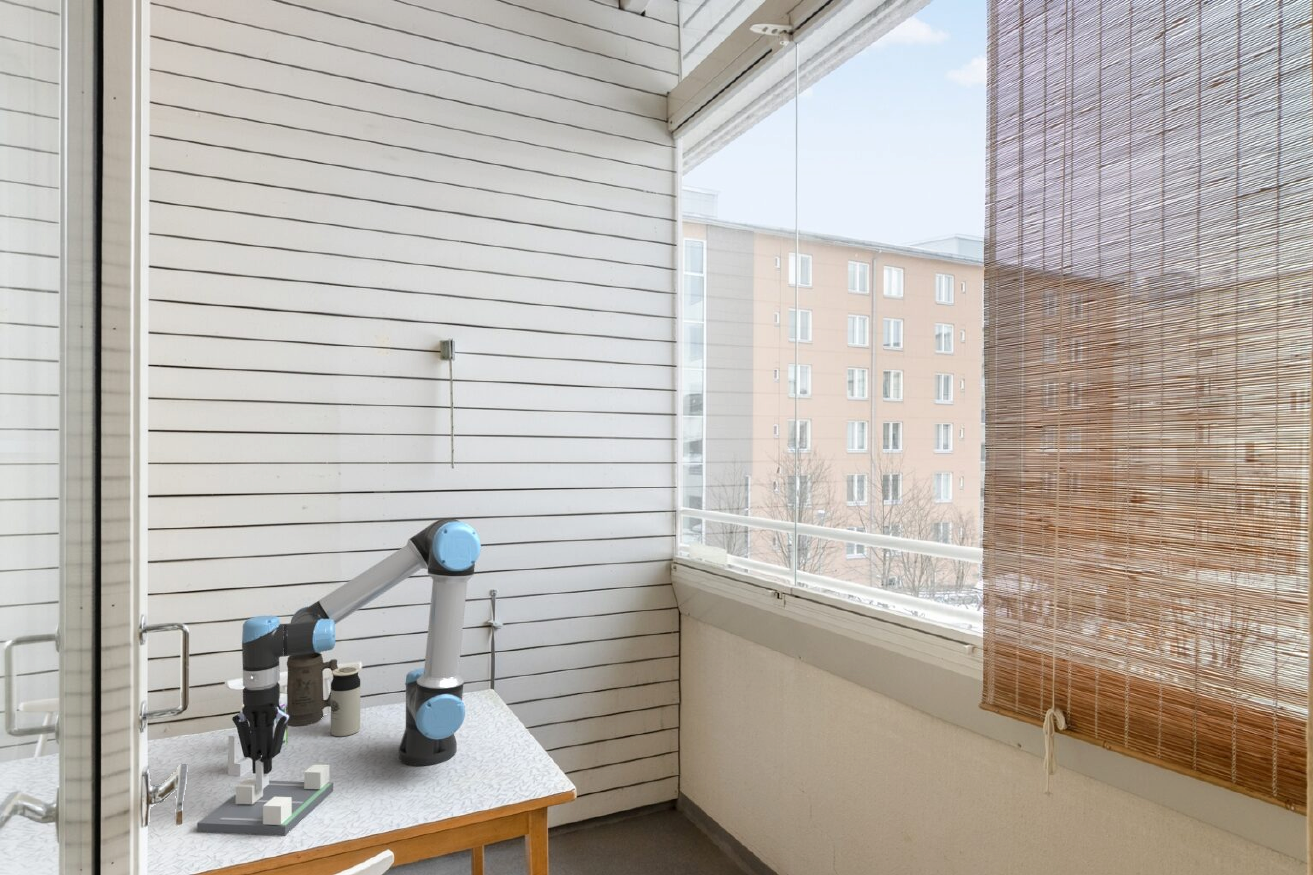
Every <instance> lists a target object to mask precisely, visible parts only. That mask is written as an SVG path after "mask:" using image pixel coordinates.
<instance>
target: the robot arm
mask: <svg viewBox="0 0 1313 875" xmlns="http://www.w3.org/2000/svg"><path fill="white" fill-rule="evenodd" d="M481 545H482V544H481V539H480V537H479V535H478V534H477V531H475V529H474V528H473V527H472V526H471V525H469V524H467V523H466V522H462V521H460V520H457V519H455V518H441V519H438V520H436V521H435V522H432V523H430V524H429V525H428V526H426V527H425V528H423V529H422V530H421V531H419V532H418V533H416V534H415V535H414V536H412V537H410V538H408V539H407V543H406V545H404V546H403V547H401V548H399V550H398V549H397V551H395V552H393V553H392V554H390V555H389V556H387V557H386V558H384V559H382V560H381V561H379V562H378V563H375V564H374V565H372V566H371V567H370V568H368V569H366V570H365V571H364V572H362V573H360V574H358V575H357V576H355V577H354V578H352V579H350V580H349V581H347V582H346V583H344V584H343V585H341V586H340V587H338V588H336V589H335V590H333V591H331V592H330V593H328V594H326V595H325V596H323V597H322V598H320V599H319V600H317V601H315V602H314V603H312V604H311V605H309V606H303V607H301V608H299V609H298V610H297V611H295V613H294V615H293V616H291V620H290V622H289V623H281V622H280V618H279V617H278V616H277V615H259V616H255V617H251V618H250V617H249V619H247V620H245V621H244V622H243V623H242V632H241V633H242V636H241V651H242V654H241V656H242V686H243V687H244V688H243V689H242V704H243V707H242V710H241V712H239V713H238V714H236V715H234V716H233V717H232V718H231V720H232V722H233V724H234V725H235V727H236V729H237V733H238V737H239V739H240V743H241V747H242V751H243V755H244V757H245V758H247V757H249V758H251V759H252V770H251V772H252V774H255V778H256V790H262V789H264V788H265V787H266V786H267V785H269V781H270V772H272V770H273V758H275V757H276V756H277V755H279V754H281V750H282V747H283V746H282V743H283V738H284V734H285V729H286V725H287V722H288V721H289V719H290V717H291V714H290V713H287V714H285V713H284V712H282V711H281V707H280V705H279V698H280V692H281V690H280V687H281V684H280V683H279V681H280V680H281V679H280V678H281V676H280V672H281V670H280V668H281V667H280V658H282V657H289V656H292V655H300V654H309V653H322V652H327V651H332V650H334V648H335V646H336V625H337V624H338V623H340V622H342V621H343V620H344V619H346V618H348V617H349V616H351V615H352V614H354V613H356V611H359V610H360V609H362V608H363V607H365V606H366V605H368V604H369V603H371V602H372V601H375V599H377V598H378V597H380V596H381V595H383V594H384V593H386V592H387V591H389V590H390V589H392V588H394V587H395V586H397V585H399V584H400V583H402V582H404V581H405V580H406V579H408V578H410V577H411V576H413V575H414V574H416V573H417V572H419V571H420V570H423V569H424V570H427V574H428V576H430V578H431V579H432V585H431V598H430V606H429V617H428V628H427V639H426V649H425V656H424V657H425V658H424V667H422V668H417V669H413V670H411V671H409V672H408V673H406V675H405V676H406V677H405V683H404V685H405V729H404V731H403V735H402V737H401V741H400V743H399V746H398V760H399V761H400V762H401V763H403V764H405V765H409V766H419V767H420V766H421V767H422V766H431V765H436V764H440V763H443V762H446V761H448V760H450V759H451V758H452V757H454V756H455V755H456V753H457V747H458V746H457V739H456V736H455V733H456V732H457V731H458V730H459V729H460V728H461V726H462V725H463V723H464V721H465V716H466V709H465V707H466V706H465V704H464V701H463V694H464V682H465V680H464V678H463V677H462V676H461V675H460V673H459V671H460V660H461V651H462V650H461V649H462V640H463V628H464V618H465V610H466V609H465V607H466V597H467V587H468V581H469V580H470V579H471V578H473V577H474V575H475V567H476V563H477V560H479V557H480V554H481V550H482V549H481V548H482V546H481ZM276 717H277V721H276V722H277V725H276V728H275V732H274V737H273V726H274V720H275V718H276Z"/></svg>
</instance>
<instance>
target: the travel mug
mask: <svg viewBox="0 0 1313 875" xmlns="http://www.w3.org/2000/svg"><path fill="white" fill-rule="evenodd" d="M359 672H360V668H359V667H357V666H343V667H338V669H335V670H333V671H332V670H331V675H332V680H331V683H330V691H331V707H330V735H332V736H335V737H349V736H352V735H354V734H356V733H358V732H359V731H360V730H361V678H360V676H359Z"/></svg>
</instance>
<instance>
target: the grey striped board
mask: <svg viewBox="0 0 1313 875" xmlns="http://www.w3.org/2000/svg"><path fill="white" fill-rule="evenodd" d="M333 792H334V782H328V783H327V784H326V785H325V786H324V787H323V788H321V789H304V781H293V780H290V781H289V780H269V785H267V786H266V787H265V788H264V789H263V796H262V797H261V798H260V799H258V800H257V801H256V802H255V803H253V804H236V793H235V794H233V796H231V797H230V798H229V799H227V800H226V801H225V802H223V803H221V804H220V805H219V806H218V807H217V808H215V809H214V810H212V811H211V812H210V813H208V814H207V815H206V816H205V817H203V818H202V819H201V820H199V821H198V822H197V823H196V832H197V833H206V834H208V833H210V834H211V833H212V834H234V835H252V836H253V835H256V836H257V835H258V836H279V837H280V836H281V837H282V836H284V837H285V836H287V835H288V834H289V833H290V832H291V831H292V830H293V829H294V828H295V827H296V826H298V825H299V822H300V821H301V820H302V819H303V820H304V819H305V818H306V817H308V815H309V814H310V813H312V812H313V811H314V810H315V809H316V807H318V806H319V805H321V803H323V801H324V800H325V799H327V797H328V796H330V795H331V794H332V793H333ZM273 797H292V815H291V816H290V817H289V818H288V819H287V820H286V821H285V822H284V823H282V824H281V825H270V824H263V805H265V804H266V803H267V802H268V801H270V800H271V799H272V798H273ZM303 820H302V821H303ZM302 821H301V822H302ZM301 822H300V823H301ZM289 831H290V832H289Z"/></svg>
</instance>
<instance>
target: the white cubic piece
mask: <svg viewBox="0 0 1313 875" xmlns="http://www.w3.org/2000/svg"><path fill="white" fill-rule="evenodd" d="M303 774H304V778H303V779H304V780H303V782H304V789H321V788H323V787H324V786H325V785H326V784H327V783H330V764H312V765H311V766H310V767H309V768H307V769H306V770H305V771H304V773H303Z"/></svg>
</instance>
